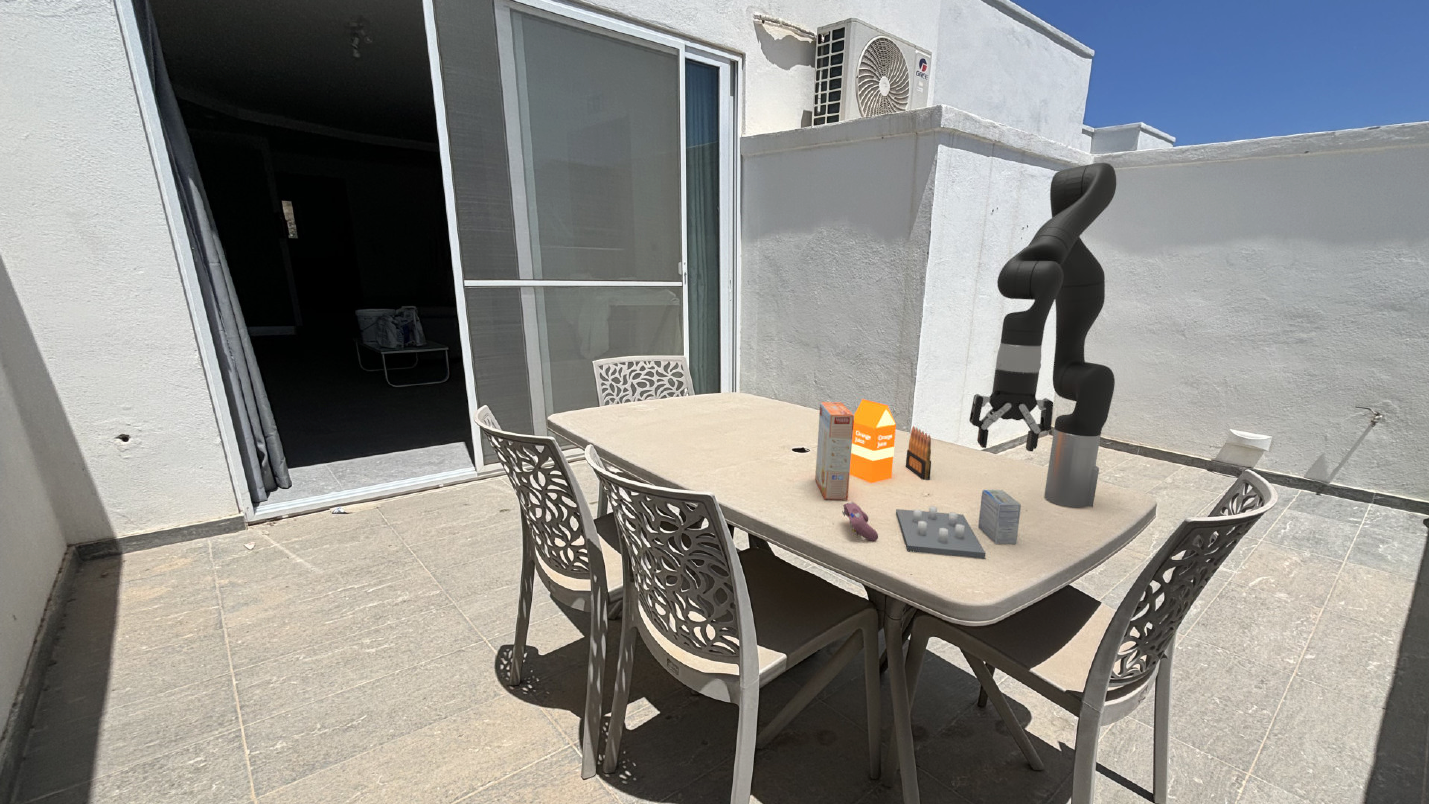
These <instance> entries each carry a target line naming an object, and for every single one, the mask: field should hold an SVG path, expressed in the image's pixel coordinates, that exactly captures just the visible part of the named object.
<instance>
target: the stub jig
mask: <svg viewBox="0 0 1429 804" xmlns="http://www.w3.org/2000/svg"><path fill="white" fill-rule="evenodd" d="M895 516H896V519H897V524H898V525H899V529H900V532H901V536H902V539H903V542H904V545H906V546H905V548H906V552H910V551H912V552H913V551H914V552H913V553H922V554H930V553H932V554H933V555H940V556H941V555H942V556H954V557H965V558H973V559H985V560H986V554H987V553H986V551H985V549H984V547H983V546H982V544H981V543H980V541H979V539H978V538H977V536H976V534H975V533H974V530H973V529H972V528H971V525H970V524H969V522H968V520H967V518H966V517H965V515H964V514H959V513H956V512H953V511H952V512H949V513H946V512H938V507H936V506H934V505H932V506H929V507H928V511H924V510H923V511H922V509H917V508H916V509H914V510H913V509H911V510H910V509H899V508H896V509H895Z"/></svg>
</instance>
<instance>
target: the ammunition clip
mask: <svg viewBox="0 0 1429 804" xmlns="http://www.w3.org/2000/svg"><path fill="white" fill-rule="evenodd" d="M909 436H910V437H909V441H908V449H907V450H906V458H905V468H906V469H907V470H909V471H910V472H912V473H913V474H915V475H916V476H917V477H918V478H920V479H921V480H922V481H930V480H931V473H932V472H931V470H932V469H931V468H932V460H931V456H932V449H931V448H932V445H931V444H932V437H931V435H930V434H928V433H927V432H924V431H923V430H922V431H921V429H918V427H915V426H914V425H913V426H912V427H911V431H910V435H909Z"/></svg>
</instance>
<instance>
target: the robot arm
mask: <svg viewBox="0 0 1429 804" xmlns="http://www.w3.org/2000/svg"><path fill="white" fill-rule="evenodd" d="M1116 189H1117V175H1116V171H1115V169H1114V166H1113V165H1111V163H1108V162H1096V163H1091V164H1085V165H1080V166H1075V167H1070V168H1066V169H1062V170H1059V171H1056V172H1055V174H1054V175H1053V177H1052V179H1051V183H1050V190H1049V191H1050V192H1049V199H1050V212H1051V218H1050V219H1048V220H1047V221H1046V222H1045V223H1044V224H1043V225H1041V226H1040V228H1039V229H1038V230H1037V232H1036V233H1035V235H1034V236H1033V238H1032V239H1031V241H1030V243H1029V244H1028V246H1026V247H1024V248H1023V249H1021V250H1020V251H1019V252H1018V253H1016V254H1015V255H1014V256H1012V257H1011V258H1010V259H1009V260H1008V261H1007V262H1005V264H1004V266H1003V267H1002V268H1001V270H1000V272H999V273H998V277H997V289H998V291H999V293H1000V294H1001V296H1003V297H1005V298H1006V299H1011V300H1028V301H1029V300H1032V301H1033V300H1034V302H1033V303H1032V305H1031V306H1030V307H1029V308H1028V309H1025V310H1020V311H1015V312H1009V313H1007V314H1005V316H1004V319H1003V322H1002V326H1001V327H1002V328H1001V334H1000V335H1001V336H1000V337H1001V338H1000V343H999V348H998V351H997V355H996V362H995V370H994V376H993V377H994V378H993V383H992V392H991V394H990V395H989V396H986V395H981V394H979V393H975V395H973V400H972V405H971V409H970V413H969V423H971V425H972V426H974V427H977V428H978V432H977V441H976V442H977V443H978V445H980V447H981V448H983V449H986V448H987V445H988V437H989V429H988V428H989V427H991V426H992V425H993V424H994V423H996V422H997V421H998V420H999V419H1002V420H1008V421H1009V420H1013V421H1021V420H1023V421H1024V422H1025V424H1026V425H1027V427H1028V428H1029V430H1027V436H1026V437H1027V438H1026V444H1025V450H1026V451H1028V452H1034V450H1036V449H1037V447H1038V443H1039V436H1040V433H1042V432H1049V431H1051V429H1052V423H1053V422H1052V421H1053V413H1054V412H1053V411H1054V401H1052V400H1051V399H1049V398H1047V397H1046V398H1045V397H1044V398H1043V399H1037V398H1036V394H1037V390H1038V382H1039V377H1040V376H1039V375H1040V370H1041V367H1042V363H1041V361H1042V348H1043V347H1042V346H1043V340H1044V332H1045V327H1046V322H1047V319H1048V317H1049V314H1050V311H1051V308H1052V307H1053V304H1054V302H1055V304H1054V305H1055V347H1054V357H1053V369H1052V386H1053V389H1054V391H1055V394H1056V395H1057V396H1059V397H1060V398H1062V399H1065V400H1068V401H1072V402H1075V405H1074V408H1073V411H1072V413H1069V414H1061V415H1058V416H1057V417H1056V418H1055V422H1054V428H1053V433H1052V442H1051V448H1050V455H1049V461H1048V468H1047V474H1046V475H1047V476H1046V483H1045V487H1044V496H1043V497H1044V499H1045V500H1046V501H1048V502H1050V503H1052V504H1055V505H1059V506H1062V507H1065V508H1067V507H1068V508H1072V509H1073V508H1074V509H1081V508H1084V507H1085V508H1088V507H1089V508H1092V507H1094V503H1095V496H1096V492H1097V491H1096V490H1097V485H1098V479H1099V473H1100V468H1099V466H1097V461H1098V452H1099V447H1100V442H1101V435H1102V431H1103V428H1104V426H1105V424H1106V422H1107V420H1108V417H1109V413H1110V407H1111V404H1112V400H1113V395H1114V392H1115V385H1116V381H1115V380H1116V378H1115V375H1114V372H1113V371H1112V369H1111V368H1110V367H1109V366H1106V365H1104V364H1099V363H1094V362H1088V361H1086V360H1085V345H1086V344H1085V343H1086V338H1087V335H1088V333H1089V331H1090V329H1091V328H1092V326H1093V325H1094V323H1095V321H1096V320H1097V319H1098V317H1099V316H1100V313H1101V311H1102V309H1103V307H1104V305H1105V297H1106V294H1105V293H1106V291H1105V290H1106V288H1105V286H1106V282H1105V281H1106V279H1105V271H1104V269H1103V266H1102V265H1101V263H1100V262H1099V261H1098V259H1097V258H1096V257H1095V255H1094V254H1093V253H1092V252H1091V251H1090V250H1089V248H1088V247H1087V246H1086V244H1085V243H1084V242H1083V240H1082V239H1081V235H1082V234H1083V233H1084V231H1086V230H1087V229H1088V227H1090V225H1092V224H1093V223H1094V221H1096V220H1097V218H1098V217H1099V216H1100V215H1101V214H1102V213H1103V212H1104V211H1105V210H1106V209H1107V208H1108V207H1109V205H1110V204H1111V202H1112V200H1113V199H1114V196H1115V193H1116ZM987 403H989V405H990V406H991V408H990V410H988V412H987V413H985V416H984V417H983V418H982V419H981V413H982V408H983V407H985V406H986V405H987ZM1036 407H1038V410H1040V418H1039V419H1040V421H1039V423H1037V422H1036V420H1035V418H1034V416H1033V415H1032V413H1031V412H1032V411H1034V409H1035V408H1036Z"/></svg>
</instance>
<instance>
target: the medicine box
mask: <svg viewBox="0 0 1429 804" xmlns="http://www.w3.org/2000/svg"><path fill="white" fill-rule="evenodd" d="M980 499H981V500H980V506H979V507H980V508H979V509H980V510H979V516H978V517H979V518H978V526H977V527H978V529H980V531H982V533H984V535H986V536H987V538H989V539H990V540H991V541H992V542H993V543H994V544H996V545H1017V543H1018V536H1019V535H1018V533H1019V528H1020V527H1019V525H1020V516H1021V509H1022V505H1021V503H1020V502H1019V501H1018V500H1016V499H1015V498H1013V497H1012V496H1011V495H1010V494H1008V493H1007V492H1006V491H1004V490H1003V489H1002V490H1001V489H984V490H982V491H981V498H980Z"/></svg>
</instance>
